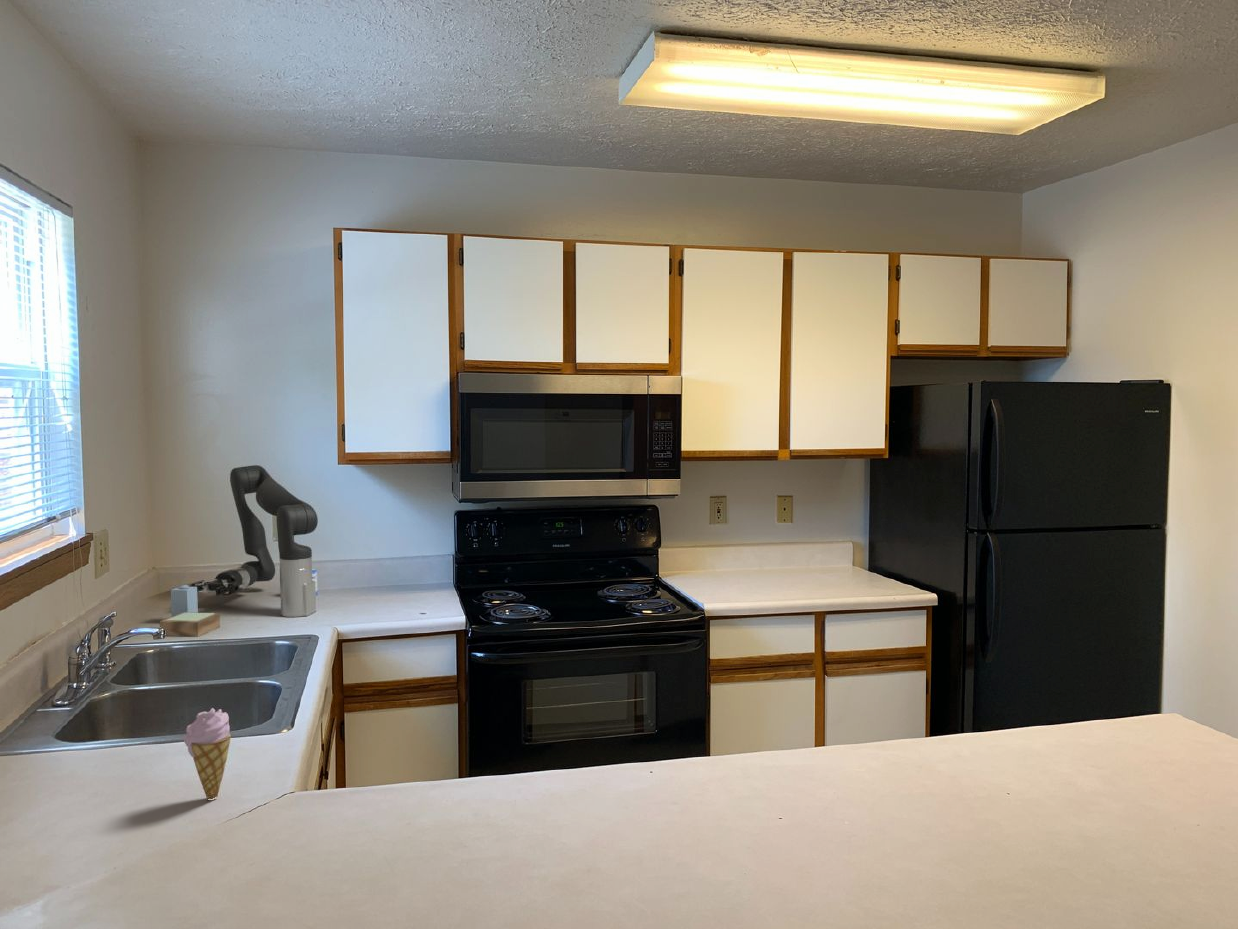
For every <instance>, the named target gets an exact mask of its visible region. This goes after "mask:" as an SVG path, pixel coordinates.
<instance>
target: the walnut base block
mask: <svg viewBox="0 0 1238 929" xmlns="http://www.w3.org/2000/svg"><path fill="white" fill-rule="evenodd" d="M160 627H161V628H163V629H164V630H165V631H166V636H165V637H193V638H195V637H196V638H199V637H200V636H203V635H205V634H207V633H210V632H212V631H214V630H217V629H219V628H220V627H221V614H220V612H198V613H193V612H183V613H180V614H178V615H175V616H173V617H172V616H170V617H168V618H164V619H162V620H160V621H159V628H160Z"/></svg>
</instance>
